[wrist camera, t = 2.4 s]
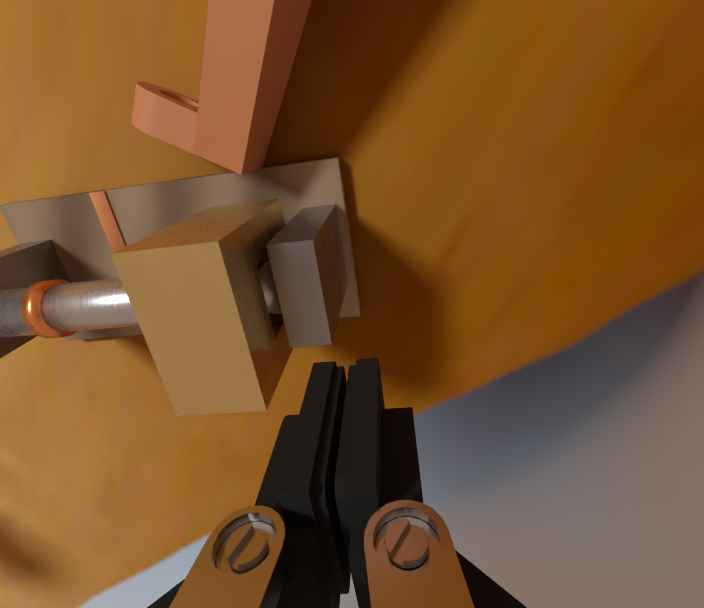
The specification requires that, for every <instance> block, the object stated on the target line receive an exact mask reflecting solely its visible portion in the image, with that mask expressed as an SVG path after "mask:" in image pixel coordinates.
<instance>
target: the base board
mask: <svg viewBox="0 0 704 608" xmlns="http://www.w3.org/2000/svg"><path fill="white" fill-rule="evenodd" d="M277 198H280V201H281V206H282V211H283V216H284V220H285V225H286V224H287V223H288V222H289V221H290V220H291V219H292V218H293V217H294V216H295V215H296V214H297V213H298V212H299V211H300V210H301V209H302V208H307V207H315V206H323V205H331V204H336V209H337V215H338V222H339V229H340V235H341V242H342V248H343V255H344V261H345V268H346V275H347V281H348V283H347V287H346V291H345V295H344V299H343V303H342V307H341V311H340V314H339V318H346V317H358V316H360V315H361V307H360V300H359V293H358V286H357V278H356V271H355V264H354V257H353V250H352V243H351V236H350V229H349V222H348V215H347V208H346V201H345V194H344V186H343V179H342V172H341V165H340V158H339V157H334V158H327V159H320V160H313V161H306V162H299V163H292V164H285V165H278V166H270V167H263V168H259V169H256V170H253V171H250V172H247V173H245V174H242V175H241V174H238V173H236V172H228V173H221V174H214V175H207V176H200V177H193V178H185V179H178V180H171V181H164V182H157V183H150V184H143V185H136V186H129V187H122V188H115V189H107V190H100V191H93V192H86V193H79V194H72V195H65V196H58V197H51V198H44V199H37V200H30V201H22V202H15V203H9V204H4V205H0V209H1V211H2V213H3V215H4V217H5V219H6V221H7V223H8V225H9V227H10V229H11V231H12V233H13V235H14V237H15V239H16V241H17V243H18V245H19V244H22V243H26V242H34V241H42V240H50V239H51V240H52V242H53V244H54V247H55V249H56V251H57V253H58V255H59V257H60V259H61V261H62V264H63V266H64V268H65V270H66V272H67V274H68V276H69V279H70V281H71V283H75V282H84V281H94V280H103V279H113V278H120V277H119V274H118V272H117V269H116V267H115V265H114V262H113V260H112V257H111V255H110V254H111V253H113V252H115V251H117V250H120V249H122V248H124V247H126V246H128V245H130V244H132V243H134V242H136V241H139V240H141V239H143V238H145V237H147V236H149V235H151V234H153V233H155V232H158V231H160V230H162V229H164V228H166V227H168V226H170V225H172V224H174V223H176V222H179V221H181V220H183V219H185V218H187V217H189V216H191V215H193V214H195V213H198V212H200V211H202V210H204V209H206V208H208V207H215V206H222V205H230V204H238V203H246V202H253V201H261V200H269V199H277ZM132 335H143V333H142V330H141V328H140V326H128V327H117V328H105V329H94V330H83V331H77V332H76V333H75V334H73V335H71V336H67V337H66V339H67V341H73V340H85V339H97V338H109V337H121V336H132Z"/></svg>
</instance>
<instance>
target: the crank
mask: <svg viewBox="0 0 704 608" xmlns="http://www.w3.org/2000/svg"><path fill="white" fill-rule="evenodd" d="M311 1H312V0H209V3H208V13H207V23H206V33H205V43H204V53H203V63H202V73H201V83H200V93H199V102H198V101H195V100H193V99H191V98H189V97H186V96H184V95H182V94H180V93H177V92H174V91H171V90H169V89H166V88H163V87H160V86H156V85H153V84H149V83H145V82H137V83H136V90H135V98H134V105H133V112H132V119H131V123H132V124H133V125H134V126H135V127H136V128H138V129H139V130H141V131H143V132H145V133H147V134H149V135H151V136H153V137H156V138H158V139H160V140H162V141H165V142H167V143H169V144H172V145H174V146H176V147H179V148H181V149H183V150H185V151H188V152H190V153H192V154H195V155H197V156H199V157H202V158H204V159H206V160H209V161H211V162H213V163H215V164H218V165H220V166H222V167H225V168H227V169H229V170H232V171H234V172H236V173H238V174H241V175H242V174H245V173H247V172H250V171H253V170H256V169H259V168H261V167H263V164H264V161H265V157H266V154H267V151H268V147H269V144H270V140H271V137H272V134H273V130H274V127H275V123H276V120H277V117H278V113H279V110H280V106H281V103H282V99H283V96H284V93H285V89H286V86H287V82H288V79H289V76H290V72H291V69H292V65H293V62H294V59H295V55H296V52H297V48H298V45H299V42H300V38H301V35H302V31H303V28H304V25H305V21H306V18H307V14H308V11H309V8H310V4H311Z"/></svg>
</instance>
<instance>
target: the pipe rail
mask: <svg viewBox="0 0 704 608" xmlns="http://www.w3.org/2000/svg"><path fill="white" fill-rule="evenodd" d="M266 247H267V251H268V255H269V260H270V262H262V263H257V264H256V265H257V269H258V273H259V277H260V281H261V285H262V289H263V293H264V297H265V301H266V305H267V309H268V313H269V314H276V313H282V315H283V319H284V323H285V328H286V332H287V336H288V340H289V345H290V347H304V346H317V345H330V344H332V342H333V338H334V334H335V330H336V326H337V322H338V318H339V314H340V311H341V307H342V303H343V299H344V295H345V291H346V287H347V283H348V281H347V275H346V268H345V261H344V255H343V248H342V242H341V235H340V229H339V222H338V215H337V209H336V204H331V205H323V206H315V207H307V208H302V209H301V210H300V211H299V212H298V213H297V214H296V215H295V216H294V217H293V218H292V219H291V220H290V221H289V222H288V223H287V224H286V225H285V226H284V227H283V228H282V229H281V230H280V231H279V232H278V233H277V234H276V235H275V236H274V237H273V238H272V239H271V240H270V242H269V243H268V244H267V245H266ZM128 326H140V325H139V323H138V321H137V318H136V316H135V313H134V311H133V308H132V306H131V303H130V301H129V299H128V296H127V294H126V291H125V289H124V286H123V284H122V282H121V279H120V278H113V279H103V280H94V281H84V282H75V283H71V281H70V279H69V276H68V274H67V272H66V270H65V268H64V266H63V264H62V261H61V259H60V257H59V255H58V253H57V251H56V249H55V247H54V244H53V242H52V240H51V239H50V240H42V241H34V242H26V243H22V244H19V245H16V246H13V247H10V248H7V249H4V250H1V251H0V358H2V357H3V356H5V355H7V354H8V353H10V352H12V351H13V350H15V349H17V348H18V347H20V346H22V345H23V344H25V343H26V342H28V341H30V340H31V339H33V338H35V337H36V336H40V337H43V338H58V337H67V336H71V335H73V334H75V333H76V332H77V331H83V330H94V329H105V328H117V327H128Z"/></svg>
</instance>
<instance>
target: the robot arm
mask: <svg viewBox="0 0 704 608" xmlns="http://www.w3.org/2000/svg"><path fill="white" fill-rule="evenodd" d="M350 573H351V574H352V579H353V583H354V587H355V592H356V597H357V601H358V606H359V608H527V607H525V606H524V605H523V604H521V603H520V602H519V601H518V600H517V599H515V598H514V597H513V596H512V595H510V594H509V593H508V592H507V591H505V590H504V589H503V588H502V587H500V586H499V585H498V584H497V583H496V582H494V581H493V580H492V579H491V578H489V577H488V576H487V575H485V574H484V573H483V572H482V571H481V570H479V569H478V568H477V567H476V566H474V565H473V564H472V563H471V562H469V561H468V560H467V559H466V558H464V557H463V556H462V555H461V554H460V553H458V552H457V551H456V550H455V548H454V545H453V542H452V539H451V537H450V533H449V530H448V528H447V526H446V524H445V522H444V520H443V518H442V517H440V515H439V514H438V513H437V512H436V511H435V510H434V509H432V508H431V507H429V506H427V505H425V504H424V503H423V497H422V488H421V479H420V471H419V462H418V453H417V445H416V436H415V427H414V419H413V410H412V407H408V408H393V409H385V406H384V399H383V391H382V383H381V375H380V367H379V360H378V358H370V359H357V363H356V365H352V366H349V371H348V379H347V381H346V375H345V369H344V367H343V366H340V367H337V365H336V362H335V361H333V362H320V363H314V364H313V367H312V371H311V374H310V378H309V381H308V385H307V389H306V392H305V396H304V399H303V403H302V406H301V410H300V414H299V415H287V416H285V417H284V419H283V422H282V424H281V427H280V430H279V433H278V436H277V440H276V443H275V446H274V449H273V452H272V455H271V458H270V461H269V464H268V467H267V470H266V473H265V476H264V479H263V482H262V485H261V488H260V491H259V494H258V497H257V500H256V503H255V506H249V507H246V508H243V509H239V510H237V511H236V512H234V513H232V514H230V515H229V516H227V517H226V518H225V519H224V520H223V521H222V522H220V523H219V524H218V525H217V526H216V528H215V529H214V530H213V532H212V533H211V535H210V536H209V537H208V539H207V541H206V543H205V544H204V546H203V548H202V550H201V552H200V553H199V555H198V557H197V559H196V560H195V562H194V564H193V566H192V568H191V569H190V571H189V573H188V575H187V577H186V578H185V579H184V580H183V581H181V582H180V583H179V584H177V585H176V586H175V587H173V588H172V589H171V590H170V591H168V592H167V593H166V594H164V595H163V596H162V597H161V598H159V599H158V600H157V601H155V602H154V603H153V604H151V605H150V606H149V607H147V608H339V603H340V594H348V593H349V588H350V575H351V574H350Z"/></svg>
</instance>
